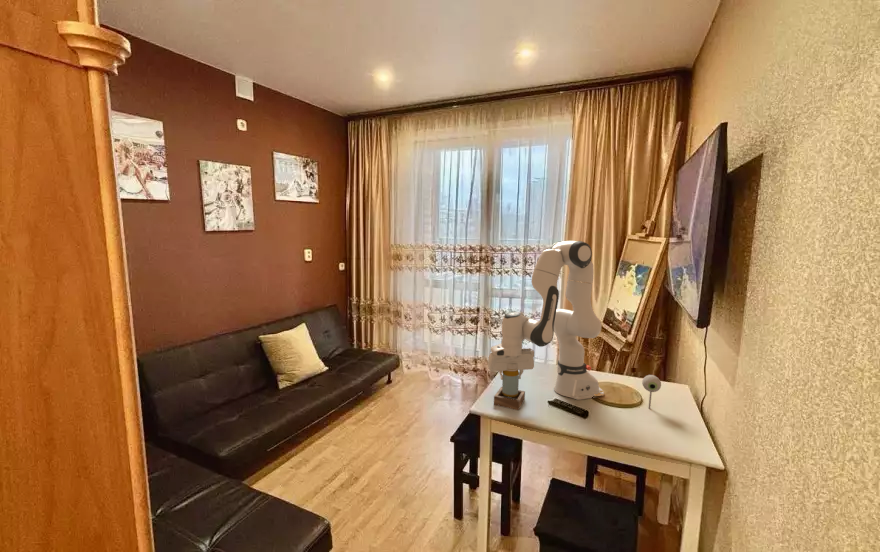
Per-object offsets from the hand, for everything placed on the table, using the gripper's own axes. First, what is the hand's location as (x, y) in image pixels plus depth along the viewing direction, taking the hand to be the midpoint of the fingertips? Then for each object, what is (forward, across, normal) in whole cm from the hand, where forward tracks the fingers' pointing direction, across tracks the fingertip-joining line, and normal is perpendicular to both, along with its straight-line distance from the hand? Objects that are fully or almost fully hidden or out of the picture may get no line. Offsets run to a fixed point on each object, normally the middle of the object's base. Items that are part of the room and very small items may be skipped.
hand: (510, 379), depth 168 cm
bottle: (+7, 0, 0) cm, 7 cm away
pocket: (+11, 0, 0) cm, 11 cm away
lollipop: (+11, -59, +12) cm, 61 cm away
